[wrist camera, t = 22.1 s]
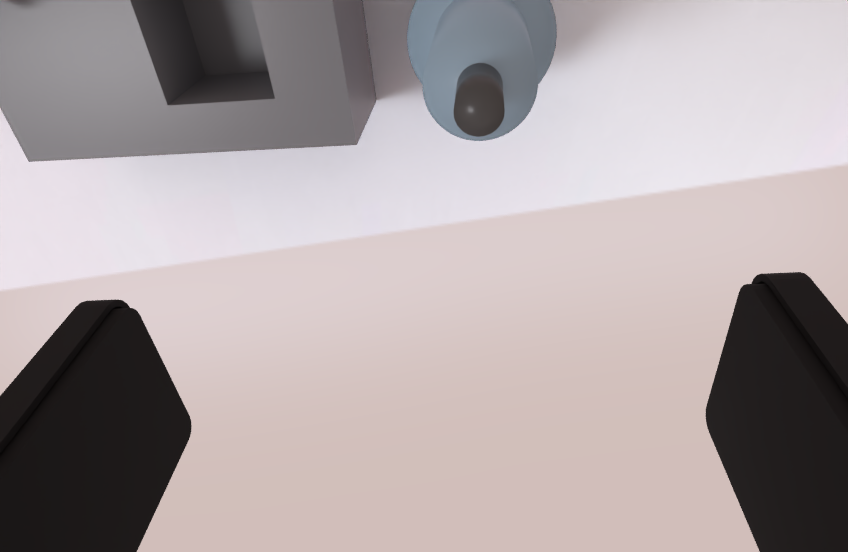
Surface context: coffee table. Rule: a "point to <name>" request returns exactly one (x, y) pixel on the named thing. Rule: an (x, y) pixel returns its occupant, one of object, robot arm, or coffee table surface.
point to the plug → (481, 61)
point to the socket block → (182, 76)
